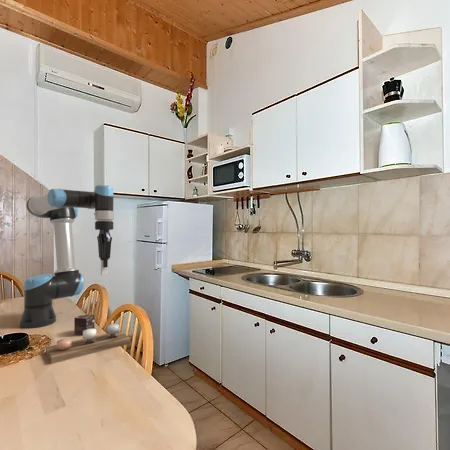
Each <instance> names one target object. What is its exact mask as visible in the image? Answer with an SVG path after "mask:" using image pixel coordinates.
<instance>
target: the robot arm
mask: <svg viewBox="0 0 450 450" xmlns="http://www.w3.org/2000/svg"><path fill="white" fill-rule="evenodd" d="M114 196H115V195H114V188H113V186H112V185H105V184H103V185H102V184H97V185H95V186H94V191H85V190H74V189H73V190H71V189H70V190H69V189H62V188H51V189H50V190H49V191H48V193H47V194H43V195H34V196H32V197H30V198H28V200H27V201H26V206H25V207H26V210H27V211H28V213H29V214H31V215H33V216H34V217H37V218H43V219H49V222H50V223H51V224H52V225H53V232H54V233H53V234H54V245H55V257H56V258H55V259H56V260H55V261H56V270H55V271H54V272H53V275H54V276H53V275H52V273H44V274H43V273H42V274H37V275H33V276H30V277H28V278H26V279H25V281H24V285H23V286H24V287H23V292H24V293H23V296H24V297H23V300H24V301H23V304H24V305H23V307H24V308H23V311H22V315H21V318H20V320H19V326H20V327H21V328H25V329H34V328H40V327H45V326H46V327H47V326H49V325H52V324H54V323H56V321H57V315H56V312H55V310H54V307H53V300H56V299H57V300H58V299H63V298H69V297H70V298H71V297H75V296H78V295H80V294H81V293H82V292H83V289H84V287H85V277H84V275H83V273H81V272H79V271H80V270H79V268H78V267H76V259H75V250H74V249H75V248H74V238H73V237H74V236H73V226H72V224H73V223H74V222H75V219H76V218H77V217H78V215H79V209H80V208H81V209H89V210H90V209H91V210H93V209H94V212H93V216H94V220H95V221H94V230H95V231H97V230H98V231H99V232H98V236H96V239H97V248H98V257H99V259H100V276H104V275H109V259H111V252H112V251H111V249H112V248H111V247H112V240H113V237H112V236H111V234H110V231H112V230H114V214H115V213H114Z"/></svg>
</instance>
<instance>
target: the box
mask: <svg viewBox="0 0 450 450" xmlns="http://www.w3.org/2000/svg"><path fill="white" fill-rule="evenodd" d="M73 322H74V329H73V330H74V335H79V336H80V335H82V336H83V331H84V330H86V329H95V314H88V313H87V314H85V313H84V314H81V315H78V316H76V317H74V319H73Z"/></svg>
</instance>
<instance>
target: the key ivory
mask: <svg viewBox="0 0 450 450" xmlns="http://www.w3.org/2000/svg"><path fill="white" fill-rule="evenodd" d="M96 336H97V329H96V328H94V329H86V330H84V331H83V335H82V339H87V343H91V342H92V338H95V337H96Z"/></svg>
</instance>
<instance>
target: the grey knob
mask: <svg viewBox="0 0 450 450" xmlns="http://www.w3.org/2000/svg"><path fill="white" fill-rule="evenodd" d="M119 331H120V324H118V323H111V324H107V325H106V333H108V334H110V337H115V333H117V332H119Z"/></svg>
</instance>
